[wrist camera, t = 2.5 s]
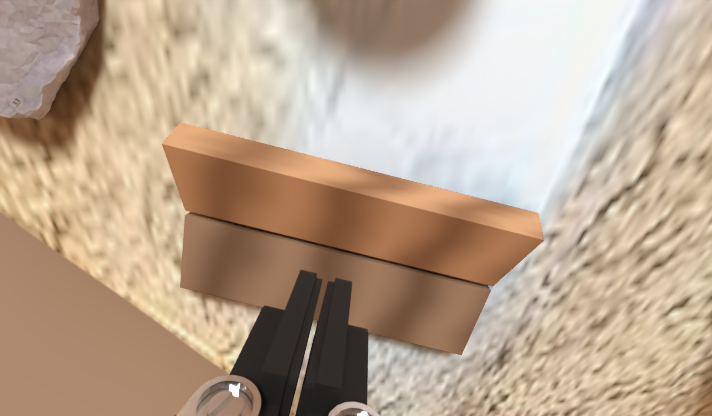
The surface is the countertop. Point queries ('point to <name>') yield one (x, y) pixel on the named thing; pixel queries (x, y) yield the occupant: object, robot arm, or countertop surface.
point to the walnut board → (368, 275)
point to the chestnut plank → (348, 206)
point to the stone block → (40, 51)
